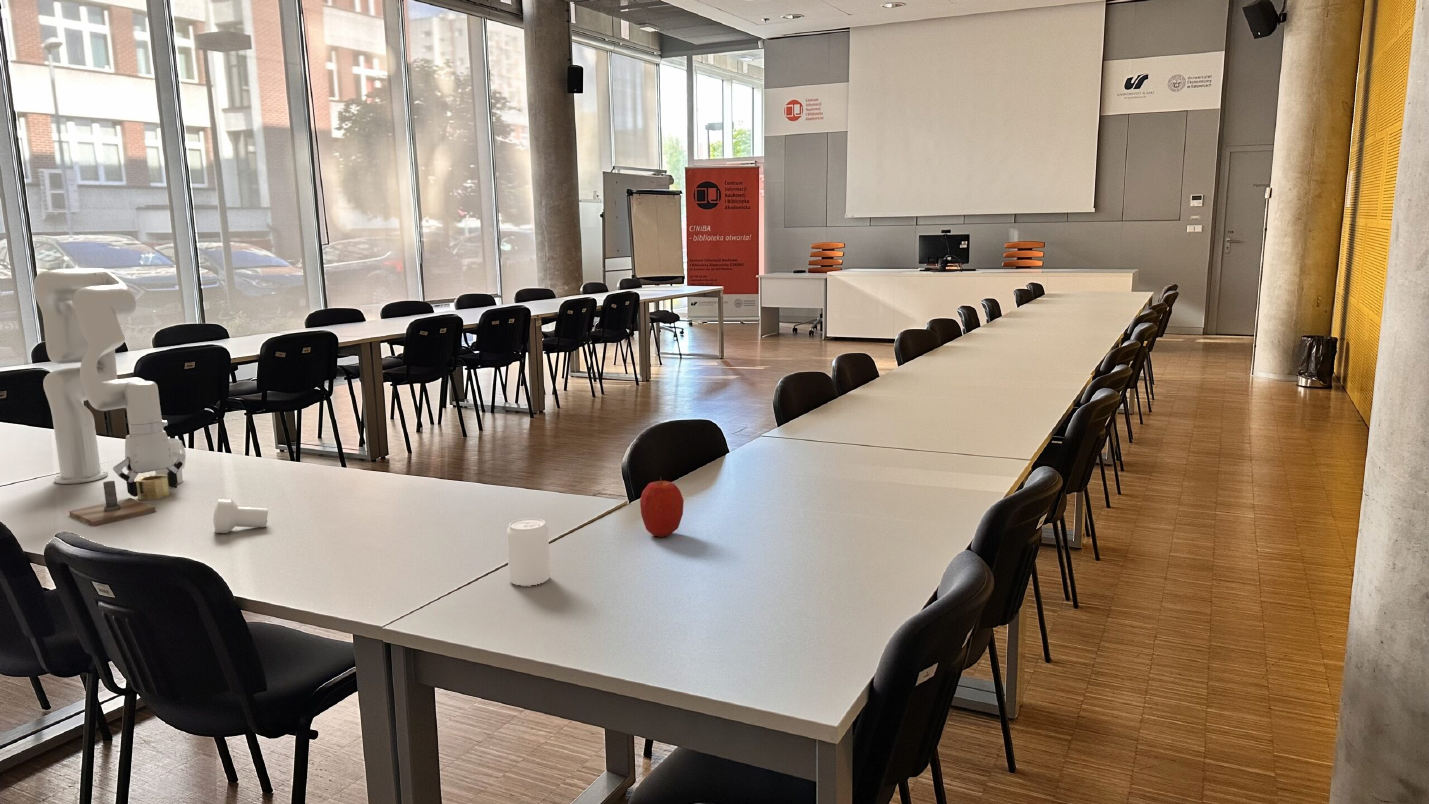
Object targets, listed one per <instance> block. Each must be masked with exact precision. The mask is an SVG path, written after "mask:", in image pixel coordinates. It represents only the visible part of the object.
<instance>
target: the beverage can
mask: <svg viewBox="0 0 1429 804" xmlns="http://www.w3.org/2000/svg"><path fill="white" fill-rule="evenodd" d="M549 543H550V542H549V527H548V526H547V524H546V521H545V520H544V519H541V518H538V517H535V518H534V517H526V518H525V517H524V518H519V519H518V518H517V519H515V520H513V521H511V522H509V524H508V527H507V529H506V546H507V549H506V550H507V566H508V581H509V582H510V583H511V584H514V585H516V586H518V585H521V586H520V587H526V586H527V587H531V586H530V585H536V586H538V585H537V584H539V585H541V584H540V583H542V584H543V583H545V582H547V581H548V580H549V579H550V578H551V569H550V567H551V565H550V544H549Z"/></svg>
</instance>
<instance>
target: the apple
mask: <svg viewBox="0 0 1429 804" xmlns="http://www.w3.org/2000/svg"><path fill="white" fill-rule="evenodd" d="M659 479H660V480H657V481H652V482H649V483H647V486H645V488H644V489H643V490H642V493H641V496H640V499H639V504H640V505H639V506H640V515H641V518H642V521H643V524H644V527H645V529H646V531H647V532H648V533H649V534H651V535H652V536H653V537H654V536H658V537H657V538H664V537H663V536H665V537H668V536H670V535H672V534H673V533H674V532H675V531H676V530H678V529H679V527H680V524H681V520H682V517H683V515H684V501H685V500H684V498H683V495H682V492H681V490H680V488H679V487H678V486H677V485H676V484H675V482H674V483H673V482H671V481H667V480H662V477H661V476H660V477H659Z"/></svg>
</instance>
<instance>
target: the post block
mask: <svg viewBox="0 0 1429 804" xmlns="http://www.w3.org/2000/svg"><path fill="white" fill-rule="evenodd" d="M102 484H103V491H104V498H105V503H101V504H96V505H91V506H87V507H83V508H77V509H73V510H69V512H68V513H69V514H68V515H69V517H72V518H74V519H75V520H78V521H81V522H83V523H85V524H88V525H89V526H91V527H96V526H101V525H104V524H110V523H112V522H117V521H122V520H127V519H131V518H135V517H138V516H139V517H140V516H145V515H147V514H152V513H156V512H157V511H156V507H155V506H153V505H151V504H148V503H145V502H142V501H140V500H139V499H138V500H137V499H135V498H132V497H128V498H125V499H120V500H118V497H117V489H116V482H115V480H107V481H104V482H103V483H102Z"/></svg>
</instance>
